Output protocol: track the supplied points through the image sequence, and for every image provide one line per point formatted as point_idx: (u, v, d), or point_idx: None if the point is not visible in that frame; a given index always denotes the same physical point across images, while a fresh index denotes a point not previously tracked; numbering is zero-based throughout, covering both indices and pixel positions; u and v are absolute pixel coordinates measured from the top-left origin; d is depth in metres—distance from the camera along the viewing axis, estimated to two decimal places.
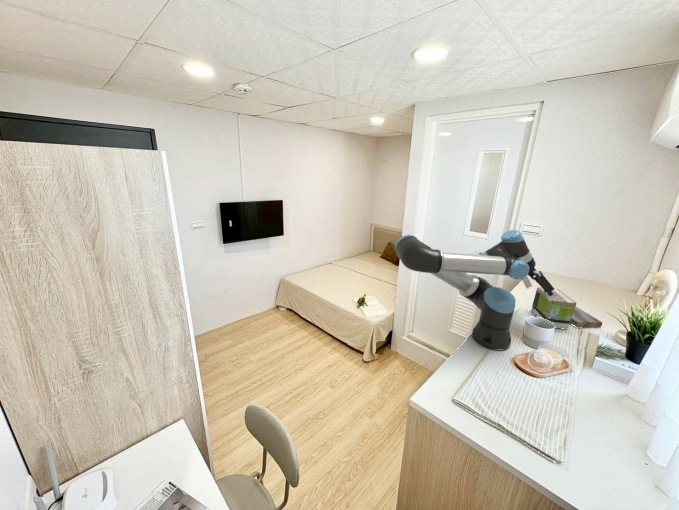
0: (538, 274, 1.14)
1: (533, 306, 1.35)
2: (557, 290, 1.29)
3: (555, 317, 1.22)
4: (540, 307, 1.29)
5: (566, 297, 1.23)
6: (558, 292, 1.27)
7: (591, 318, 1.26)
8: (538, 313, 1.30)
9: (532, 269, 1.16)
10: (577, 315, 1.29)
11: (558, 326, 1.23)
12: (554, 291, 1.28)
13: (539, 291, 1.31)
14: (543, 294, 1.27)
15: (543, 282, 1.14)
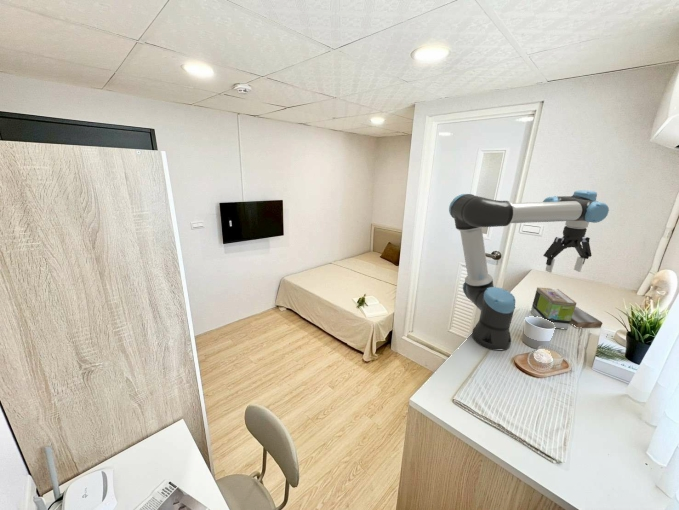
0: None
1: (533, 306, 1.35)
2: (557, 290, 1.29)
3: (555, 317, 1.22)
4: (540, 307, 1.29)
5: (566, 297, 1.23)
6: (558, 292, 1.27)
7: (591, 318, 1.26)
8: (538, 313, 1.30)
9: None
10: (577, 315, 1.29)
11: (558, 326, 1.23)
12: (554, 291, 1.28)
13: (539, 291, 1.31)
14: (543, 294, 1.27)
15: None
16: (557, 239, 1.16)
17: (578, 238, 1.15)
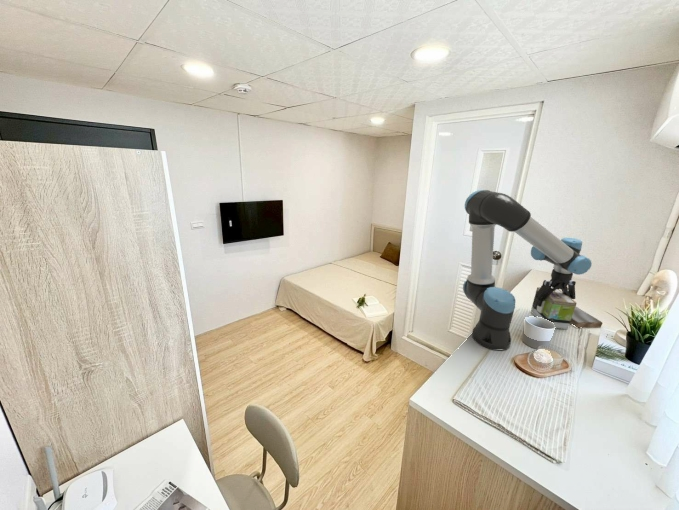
0: None
1: (533, 306, 1.35)
2: (557, 290, 1.29)
3: (555, 317, 1.22)
4: None
5: (566, 297, 1.23)
6: (558, 292, 1.28)
7: (591, 318, 1.26)
8: (538, 313, 1.30)
9: None
10: (577, 315, 1.29)
11: (558, 326, 1.23)
12: (554, 291, 1.28)
13: None
14: None
15: None
16: (545, 282, 1.23)
17: (565, 281, 1.22)
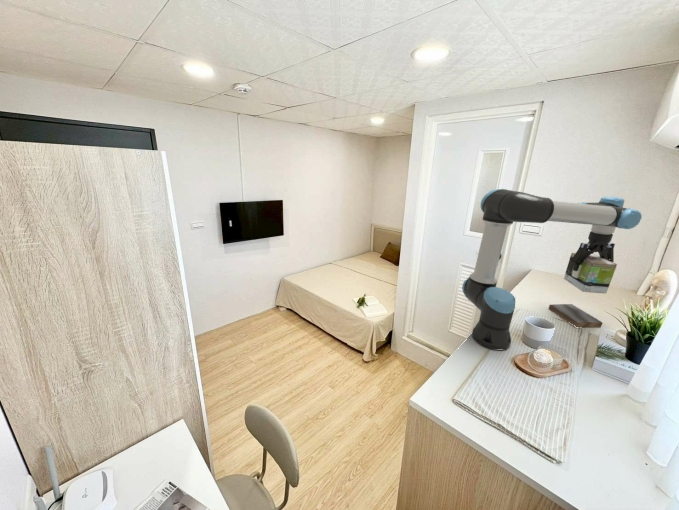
0: None
1: (567, 273, 1.31)
2: (593, 254, 1.25)
3: (593, 280, 1.17)
4: None
5: (605, 260, 1.18)
6: (595, 256, 1.23)
7: (591, 318, 1.26)
8: (573, 279, 1.26)
9: None
10: (577, 315, 1.29)
11: (596, 290, 1.18)
12: (590, 255, 1.24)
13: None
14: None
15: None
16: (583, 245, 1.18)
17: (604, 243, 1.17)
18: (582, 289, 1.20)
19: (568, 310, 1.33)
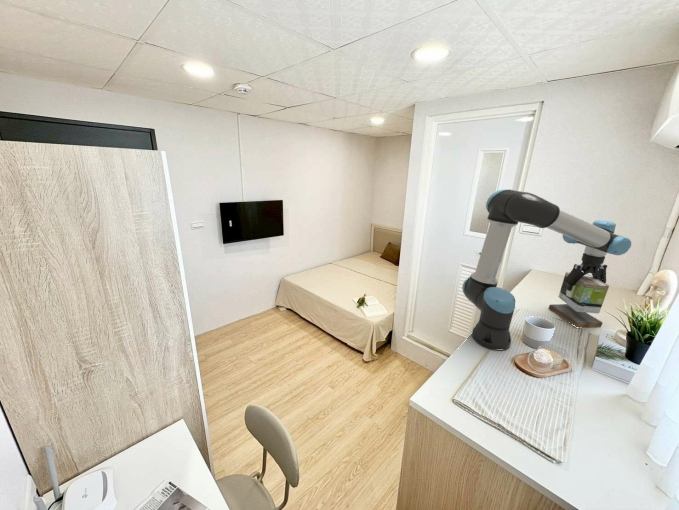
0: None
1: (561, 291, 1.34)
2: (586, 274, 1.28)
3: (586, 301, 1.21)
4: None
5: (597, 281, 1.22)
6: (588, 276, 1.27)
7: (591, 318, 1.26)
8: (567, 298, 1.29)
9: None
10: (577, 315, 1.29)
11: (589, 310, 1.22)
12: (584, 275, 1.27)
13: None
14: None
15: None
16: (576, 266, 1.22)
17: (596, 265, 1.21)
18: (576, 309, 1.23)
19: (568, 310, 1.33)
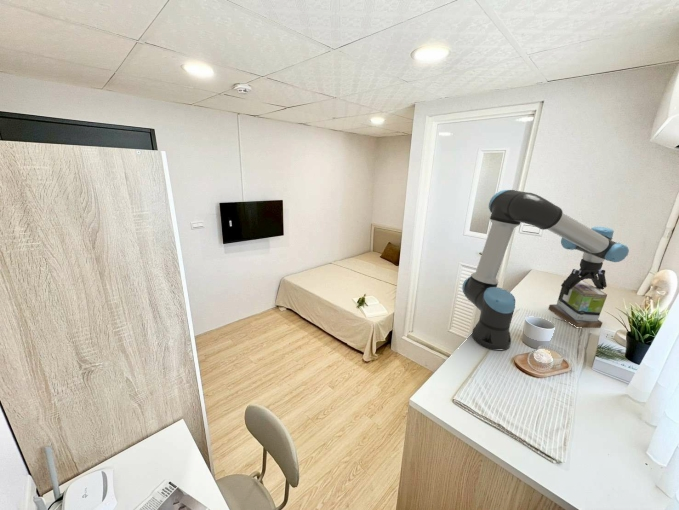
0: None
1: (559, 299, 1.36)
2: (584, 282, 1.30)
3: (585, 309, 1.22)
4: None
5: (595, 289, 1.23)
6: (586, 284, 1.28)
7: None
8: (566, 306, 1.31)
9: None
10: None
11: (588, 318, 1.23)
12: (582, 283, 1.29)
13: None
14: None
15: None
16: (575, 271, 1.23)
17: (594, 270, 1.22)
18: (575, 317, 1.25)
19: None
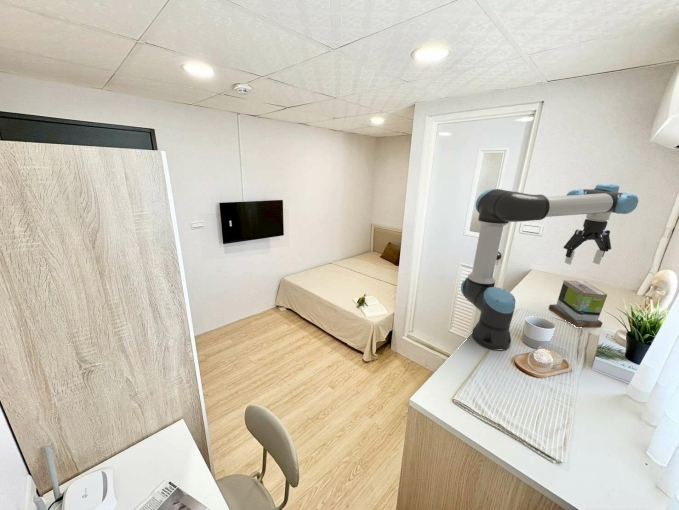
0: None
1: (559, 299, 1.36)
2: (584, 282, 1.30)
3: (585, 309, 1.22)
4: (568, 300, 1.29)
5: (595, 289, 1.23)
6: (586, 284, 1.28)
7: None
8: (566, 306, 1.31)
9: None
10: None
11: (588, 318, 1.23)
12: (582, 283, 1.29)
13: (566, 284, 1.31)
14: (571, 287, 1.28)
15: None
16: (578, 231, 1.18)
17: (598, 231, 1.17)
18: (575, 317, 1.25)
19: None
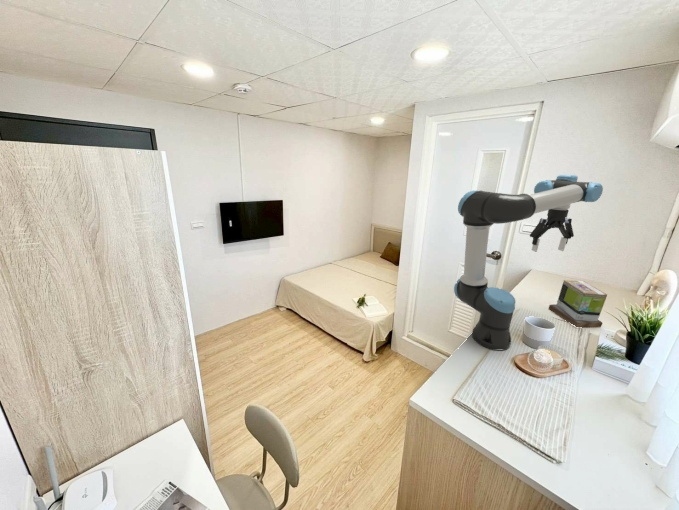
0: None
1: (559, 299, 1.36)
2: (584, 282, 1.30)
3: (585, 309, 1.22)
4: (568, 300, 1.29)
5: (595, 289, 1.23)
6: (586, 284, 1.28)
7: None
8: (566, 306, 1.31)
9: None
10: None
11: (588, 318, 1.23)
12: (582, 283, 1.29)
13: (566, 284, 1.31)
14: (571, 287, 1.28)
15: None
16: (542, 220, 1.25)
17: (561, 219, 1.25)
18: (575, 317, 1.25)
19: None
